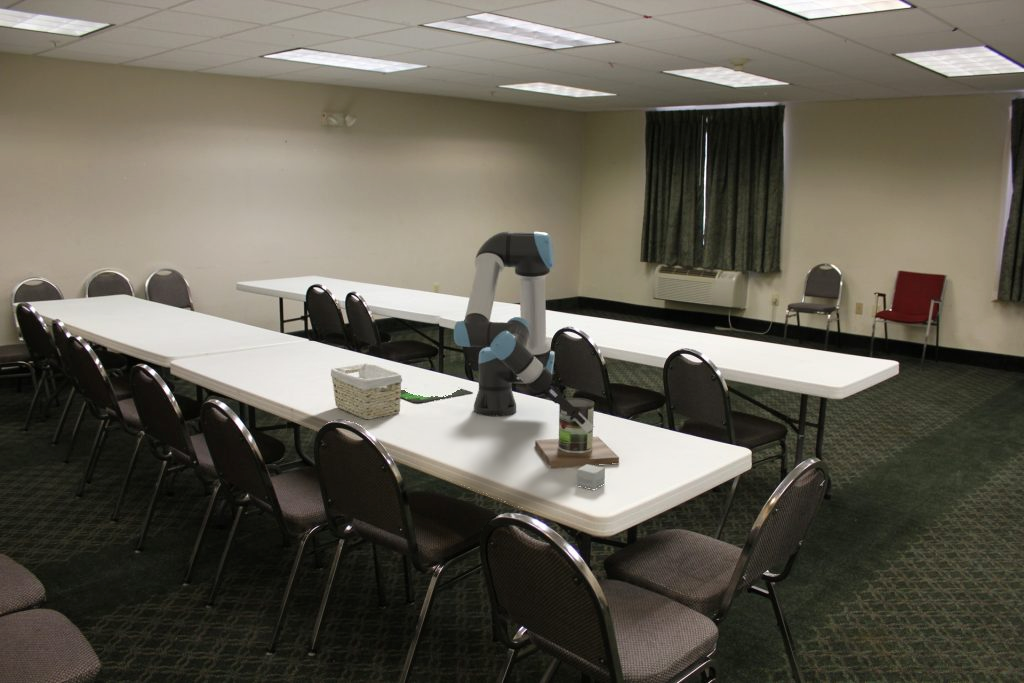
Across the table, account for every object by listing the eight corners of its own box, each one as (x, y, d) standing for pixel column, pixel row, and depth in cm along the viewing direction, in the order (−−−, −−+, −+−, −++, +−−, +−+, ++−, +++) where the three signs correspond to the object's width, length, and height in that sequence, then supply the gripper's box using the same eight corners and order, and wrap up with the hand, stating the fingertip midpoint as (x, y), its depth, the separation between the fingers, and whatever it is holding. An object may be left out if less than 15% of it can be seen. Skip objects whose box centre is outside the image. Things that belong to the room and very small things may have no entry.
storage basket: (405, 414, 276) (404, 373, 274) (364, 422, 266) (363, 379, 263) (369, 400, 294) (368, 362, 291) (330, 408, 284) (328, 368, 281)
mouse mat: (443, 383, 323) (443, 381, 322) (476, 393, 306) (476, 391, 306) (385, 393, 305) (385, 391, 305) (416, 405, 289) (416, 402, 289)
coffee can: (573, 456, 226) (575, 408, 223) (551, 447, 234) (551, 400, 231) (600, 449, 232) (601, 403, 229) (577, 440, 240) (578, 395, 237)
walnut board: (535, 446, 241) (535, 440, 241) (597, 442, 245) (598, 436, 244) (551, 468, 222) (551, 461, 221) (618, 463, 226) (619, 457, 225)
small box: (605, 485, 209) (605, 467, 208) (594, 491, 205) (595, 473, 204) (586, 480, 213) (586, 463, 212) (575, 486, 208) (576, 469, 207)
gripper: (516, 374, 238) (563, 420, 244) (535, 395, 214) (587, 444, 220) (534, 357, 238) (580, 402, 244) (554, 375, 214) (605, 425, 220)
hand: (583, 422), depth 232 cm, fingers open, 13 cm apart
